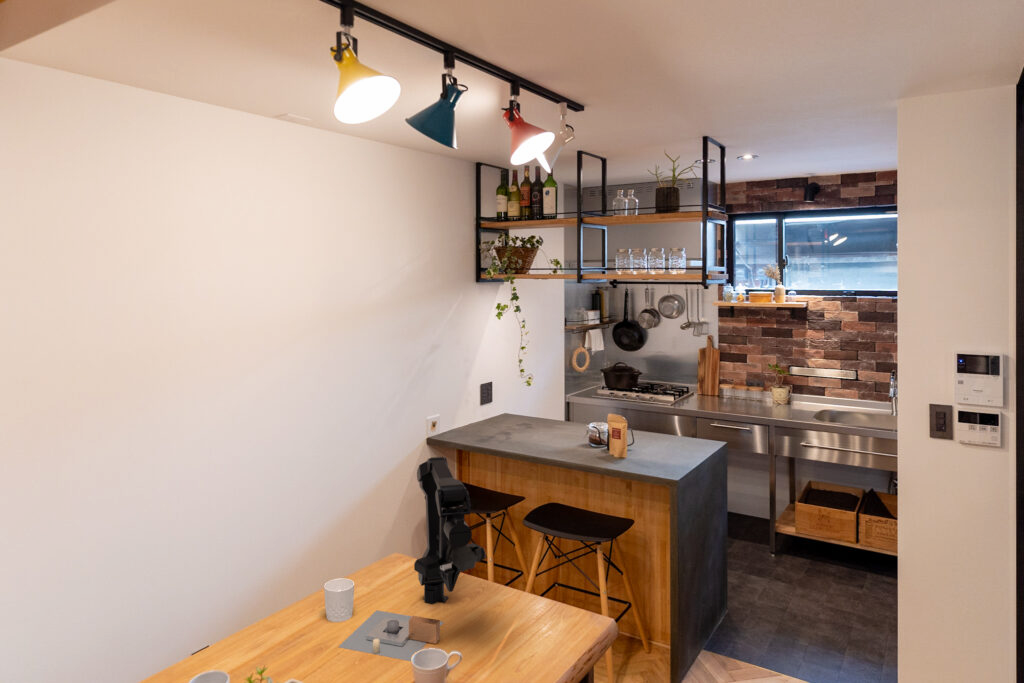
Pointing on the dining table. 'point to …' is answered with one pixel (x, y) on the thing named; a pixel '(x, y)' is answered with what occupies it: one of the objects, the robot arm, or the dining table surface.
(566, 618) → the dining table surface
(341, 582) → the white cup
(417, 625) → the flange plate
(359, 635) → the slate board
